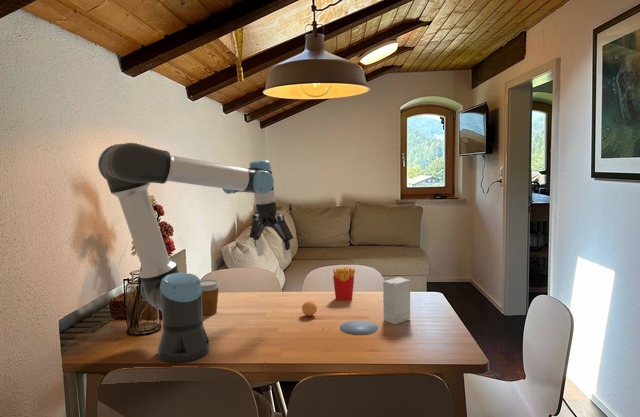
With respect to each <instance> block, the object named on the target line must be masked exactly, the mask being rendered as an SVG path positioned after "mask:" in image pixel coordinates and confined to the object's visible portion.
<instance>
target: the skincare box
mask: <svg viewBox="0 0 640 417" xmlns="http://www.w3.org/2000/svg"><path fill="white" fill-rule="evenodd" d="M382 284H383V285H382V286H383V293H382V294H383V300H382V301H383V321H385V322H387V323H390V324H393V325H397V324H401V323H403V322H406V321H409V320H411V280H410V279H407V278H403V277H400V276H396V277H394V278H391V279H387V280H386V279H385V280H383V283H382Z"/></svg>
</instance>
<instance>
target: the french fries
mask: <svg viewBox="0 0 640 417" xmlns="http://www.w3.org/2000/svg"><path fill="white" fill-rule="evenodd" d="M332 271H333V272H332V273H333V276H332V280H333V286H334V295H335V300H337V301H352V300H353V295H354V294H353V293H354V282H355V274H356V269H355V268H351V267H346V266H344V267H342V268H341V267H340V268H338V267H337V268H335V269H334V268H333V269H332Z"/></svg>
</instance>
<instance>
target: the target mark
mask: <svg viewBox="0 0 640 417" xmlns="http://www.w3.org/2000/svg"><path fill="white" fill-rule="evenodd" d="M339 328H340V331H342V332H343V333H345V334H349V335H356V336H365V335H370V334H374V333H376V332H377V331H378V330H379V326H378V325H377V324H376V323H374V322H371V321H367V320H352V321H351V320H350V321H346V322H343V323H342V324H341V325H340V326H339Z"/></svg>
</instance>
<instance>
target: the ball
mask: <svg viewBox="0 0 640 417" xmlns="http://www.w3.org/2000/svg"><path fill="white" fill-rule="evenodd" d="M301 310H302V313H303V314H304V315H305V316H307V317H312V316H314V315H315V314H316V313H317V310H318V307H317V305H316V302H314V301H311V300H306V301H304V303H303V304H302V306H301Z"/></svg>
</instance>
